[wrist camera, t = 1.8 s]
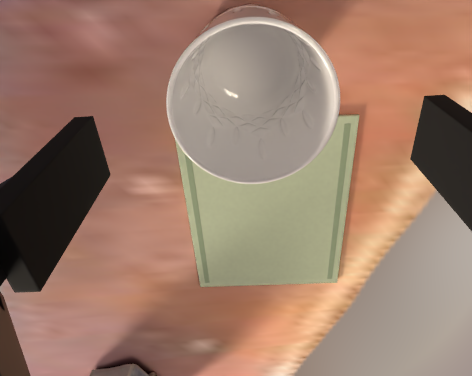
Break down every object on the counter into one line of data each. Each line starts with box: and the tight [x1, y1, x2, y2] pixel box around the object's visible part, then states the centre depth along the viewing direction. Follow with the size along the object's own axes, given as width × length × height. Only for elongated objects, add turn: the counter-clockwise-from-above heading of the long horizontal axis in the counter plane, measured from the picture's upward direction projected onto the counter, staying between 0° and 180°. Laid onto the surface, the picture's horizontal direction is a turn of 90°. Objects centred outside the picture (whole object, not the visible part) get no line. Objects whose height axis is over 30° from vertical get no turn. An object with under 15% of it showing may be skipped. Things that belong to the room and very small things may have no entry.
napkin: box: [175, 114, 359, 287], centre depth 32 cm, size 18×14×1 cm
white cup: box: [166, 4, 340, 184], centre depth 20 cm, size 8×8×10 cm
